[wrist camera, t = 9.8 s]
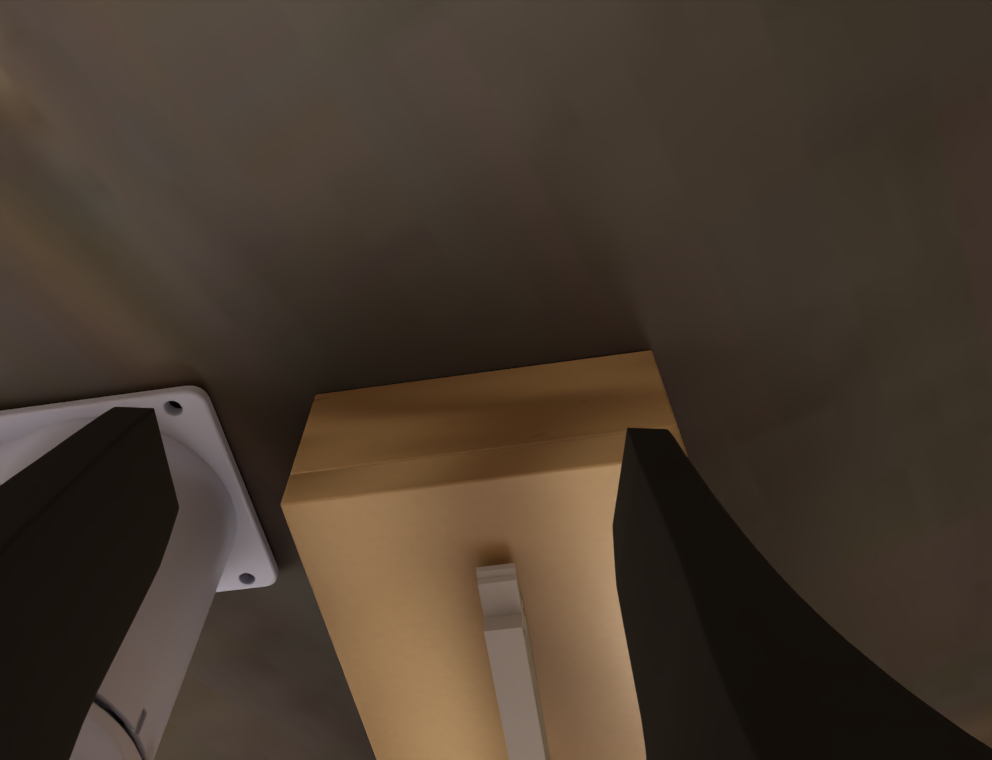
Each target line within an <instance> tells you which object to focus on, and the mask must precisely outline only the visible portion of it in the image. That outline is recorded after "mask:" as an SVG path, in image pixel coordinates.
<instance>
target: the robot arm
mask: <svg viewBox="0 0 992 760" xmlns="http://www.w3.org/2000/svg"><path fill="white" fill-rule="evenodd" d="M169 401H175V402H177V403H179V404H180V405H181V407H182V408H175V407H173V406H171V404H170V403H169ZM612 529H613V546H614V562H615V576H616V587H617V593H618V598H619V604H620V609H621V615H622V620H623V626H624V631H625V636H626V642H627V647H628V652H629V657H630V663H631V668H632V673H633V679H634V684H635V689H636V694H637V700H638V705H639V710H640V716H641V722H642V729H643V736H644V742H645V750H646V760H992V749H991V748H990V747H988V746H987V745H985V744H984V743H982V742H980V741H979V740H977V739H976V738H974V737H973V736H971V735H970V734H968V733H967V732H965V731H964V730H962V729H961V728H959V727H958V726H957V725H955V724H954V723H952V722H951V721H950V720H948V719H947V718H945V717H944V716H943V715H941V714H940V713H938V712H937V711H936V710H934V709H933V708H932V707H930V706H929V705H927V704H926V703H925V702H923V701H922V700H920V699H919V698H918V697H916V696H915V695H914V694H912V693H911V692H910V691H908V690H907V689H906V688H905V687H903V686H902V685H901V684H899V683H898V682H897V681H895V680H894V679H893V678H892V677H890V676H889V675H888V674H887V673H885V672H884V671H883V670H882V669H881V668H879V667H878V666H877V665H876V664H875V663H873V662H872V661H871V660H870V659H868V658H867V657H866V656H865V655H864V654H862V653H861V652H860V651H859V650H858V649H856V648H855V647H854V646H853V645H852V644H850V643H849V642H848V641H847V640H846V639H845V638H844V637H842V636H841V635H840V634H839V633H838V632H837V631H836V630H835V629H833V628H832V627H831V626H830V625H829V624H828V623H827V622H826V621H825V620H824V619H823V618H822V617H820V616H819V615H818V614H817V613H816V612H815V611H814V610H813V609H812V608H811V607H810V606H809V605H808V604H807V603H806V602H805V601H804V600H803V599H802V598H801V597H800V596H799V595H798V594H797V593H796V592H795V591H794V590H793V589H792V588H791V587H790V586H789V585H788V584H787V583H786V581H785V580H784V579H783V578H782V577H781V576H780V575H779V574H778V573H777V572H776V571H775V569H774V568H773V567H772V566H771V565H770V564H769V563H768V561H767V560H766V559H765V558H764V557H763V556H762V555H761V553H760V552H759V551H758V550H757V549H756V548H755V547H754V545H753V544H752V543H751V542H750V540H749V539H748V538H747V537H746V536H745V534H744V533H743V532H742V531H741V529H740V528H739V527H738V526H737V524H736V523H735V522H734V520H733V519H732V518H731V517H730V515H729V514H728V513H727V511H726V510H725V509H724V508H723V506H722V505H721V504H720V502H719V501H718V500H717V498H716V497H715V496H714V494H713V493H712V492H711V490H710V489H709V487H708V486H707V485H706V483H705V482H704V480H703V479H702V478H701V476H700V475H699V473H698V472H697V470H696V469H695V468H694V466H693V465H692V463H691V462H690V460H689V459H688V457H687V456H686V454H685V453H684V451H683V450H682V448H681V447H680V445H679V444H678V442H677V440H676V439H675V437H674V436H673V435H672V434H671V432H670V431H669V430H668V429H652V428H627V432H626V439H625V445H624V452H623V458H622V465H621V472H620V478H619V485H618V492H617V498H616V505H615V512H614V518H613V525H612ZM278 572H279V571H278V566H277V564H276V561H275V559H274V556H273V554H272V551H271V549H270V546H269V544H268V541H267V539H266V536H265V534H264V531H263V529H262V526H261V524H260V521H259V519H258V516H257V514H256V511H255V509H254V506H253V504H252V501H251V499H250V497H249V494H248V492H247V489H246V487H245V484H244V482H243V479H242V477H241V474H240V472H239V469H238V467H237V464H236V462H235V459H234V457H233V454H232V452H231V449H230V447H229V444H228V442H227V439H226V437H225V434H224V432H223V429H222V427H221V424H220V422H219V419H218V417H217V414H216V412H215V409H214V407H213V404H212V402H211V399H210V397H209V396H208V394H207V393H206V392H205V391H204V390H203V389H201V388H199V387H196V386H188V385H187V386H180V387H172V388H165V389H157V390H150V391H143V392H135V393H128V394H120V395H113V396H105V397H98V398H91V399H83V400H76V401H68V402H61V403H54V404H46V405H39V406H31V407H24V408H16V409H9V410H2V411H0V760H153V759H154V757H155V754H156V751H157V749H158V746H159V743H160V741H161V738H162V735H163V733H164V730H165V727H166V724H167V722H168V719H169V716H170V714H171V711H172V708H173V706H174V703H175V700H176V698H177V695H178V692H179V689H180V687H181V684H182V681H183V679H184V676H185V673H186V671H187V668H188V665H189V663H190V660H191V657H192V654H193V652H194V649H195V646H196V644H197V641H198V638H199V636H200V633H201V630H202V628H203V625H204V622H205V619H206V617H207V614H208V611H209V609H210V606H211V603H212V601H213V598H214V595H215V593H216V592H222V591H230V590H239V589H247V588H256V587H265V586H269V585H272V584H273V583H274V582H275V581H276V579H277V576H278ZM244 573H249V574H251V575H253V576H251V575H246V574H244Z"/></svg>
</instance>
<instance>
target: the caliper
mask: <svg viewBox="0 0 992 760" xmlns="http://www.w3.org/2000/svg"><path fill="white" fill-rule="evenodd" d="M476 573H477V579H478V589H479V594H480V599H481V604H482V609H483V614H484V635H485V640H486V645H487V650H488V656H489V661H490V666H491V671H492V676H493V681H494V686H495V691H496V696H497V701H498V706H499V711H500V716H501V721H502V726H503V731H504V736H505V742H506V747H507V752H508V757H509V760H551V759H550V753H549V747H548V741H547V736H546V730H545V724H544V718H543V713H542V707H541V701H540V695H539V689H538V684H537V678H536V672H535V666H534V661H533V655H532V649H531V643H530V638H529V632H528V626H527V620H526V614H525V609H524V603H523V597H522V593H520V591H519V585H518V580H517V574H516V569H515V564H514V563H509V564H501V565H492V566H484V567H476Z"/></svg>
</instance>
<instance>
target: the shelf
mask: <svg viewBox="0 0 992 760" xmlns="http://www.w3.org/2000/svg"><path fill="white" fill-rule="evenodd" d="M627 428H652V429H668V430H669V431H670V432H671V434H672V435H673V436H674V437H675V439H676V440H677V442H678V444H679V445H680V447H681V448H682V450H683V451H684V453H685V454H686V456H687V452H686V449H685V446H684V443H683V440H682V438H681V435H680V432H679V429H678V426H677V423H676V420H675V417H674V414H673V411H672V408H671V405H670V402H669V399H668V396H667V393H666V390H665V388H664V385H663V382H662V379H661V376H660V373H659V370H658V367H657V364H656V361H655V358H654V355H653V352H652V351H651V350H648V351H641V352H633V353H626V354H618V355H610V356H603V357H595V358H588V359H580V360H573V361H565V362H558V363H550V364H542V365H535V366H527V367H520V368H512V369H505V370H497V371H490V372H482V373H474V374H467V375H459V376H452V377H444V378H437V379H429V380H422V381H414V382H406V383H399V384H391V385H384V386H376V387H369V388H361V389H354V390H346V391H338V392H331V393H323V394H317V395H315V398H314V401H313V404H312V407H311V411H310V414H309V417H308V420H307V423H306V426H305V429H304V432H303V435H302V439H301V442H300V445H299V448H298V451H297V454H296V457H295V460H294V463H293V467H292V470H291V473H290V475H291V476H289V479H288V482H287V485H286V489H285V492H284V495H283V498H282V501H281V508H282V511H283V513H284V516H285V519H286V521H287V524H288V527H289V529H290V532H291V534H292V537H293V540H294V542H295V545H296V548H297V550H298V553H299V556H300V558H301V561H302V564H303V566H304V569H305V571H306V574H307V577H308V579H309V582H310V585H311V587H312V590H313V593H314V595H315V598H316V601H317V603H318V606H319V608H320V611H321V614H322V616H323V619H324V622H325V624H326V627H327V630H328V632H329V635H330V638H331V640H332V643H333V645H334V648H335V651H336V653H337V656H338V659H339V661H340V664H341V667H342V669H343V672H344V674H345V677H346V680H347V682H348V685H349V688H350V690H351V693H352V696H353V698H354V701H355V704H356V706H357V709H358V711H359V714H360V717H361V719H362V722H363V725H364V727H365V730H366V733H367V735H368V738H369V741H370V743H371V746H372V748H373V751H374V754H375V756H376V759H377V760H509V757H508V752H507V747H506V742H505V736H504V731H503V726H502V721H501V716H500V711H499V706H498V701H497V696H496V691H495V686H494V681H493V676H492V671H491V666H490V661H489V656H488V650H487V645H486V640H485V635H484V614H483V609H482V604H481V599H480V594H479V589H478V579H477V573H476V567H484V566H492V565H501V564H509V563H514V564H515V569H516V574H517V580H518V585H519V591H520V593H522V597H523V603H524V609H525V614H526V620H527V626H528V632H529V638H530V643H531V649H532V655H533V661H534V666H535V672H536V678H537V684H538V689H539V695H540V701H541V707H542V713H543V718H544V724H545V730H546V736H547V741H548V747H549V753H550V759H551V760H646V750H645V742H644V736H643V729H642V722H641V716H640V710H639V705H638V700H637V694H636V689H635V684H634V679H633V673H632V668H631V663H630V657H629V652H628V647H627V642H626V636H625V631H624V626H623V620H622V615H621V609H620V604H619V598H618V593H617V587H616V576H615V562H614V546H613V529H612V525H613V518H614V512H615V505H616V498H617V492H618V485H619V478H620V472H621V465H622V458H623V452H624V445H625V439H626V432H627ZM687 457H688V456H687Z"/></svg>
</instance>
